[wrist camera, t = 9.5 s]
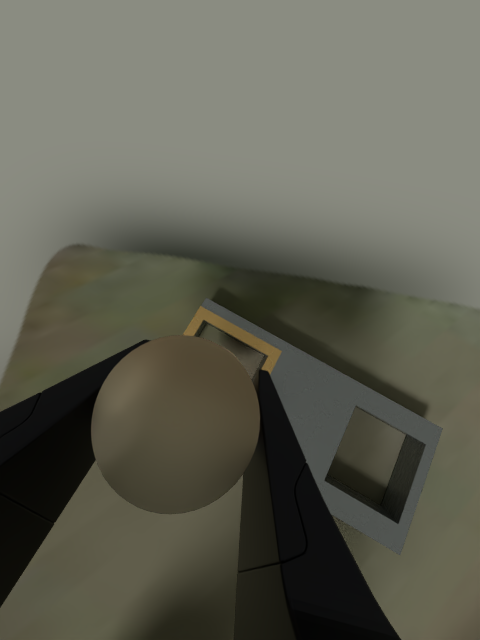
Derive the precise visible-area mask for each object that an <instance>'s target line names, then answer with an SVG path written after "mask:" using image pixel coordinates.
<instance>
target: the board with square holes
mask: <svg viewBox="0 0 480 640" xmlns="http://www.w3.org/2000/svg"><path fill="white" fill-rule="evenodd" d="M206 323H208V324H209V325H211V326H213V327H215V328H216V329H218V330H220V331H222V332H224V333H225V334H227V335H229V336H231V337H233V338H234V339H236V340H238V341H240V342H241V343H243V344H245V345H247V346H249V347H250V348H252V349H254V350H256V351H257V352H259V353H261V354H263V355H265V356H264V358H263V360H262V361H261V363H260V365H259V367H258V369H257V371H256V373H255V375H254V377H253V379H252V383H253V382H254V379H255V377H256V374H257V372H258V370H259V369H262V370H266V371H268V372H269V374H270V376H271V379H272V381H273V383H274V386H275V388H276V390H277V393H278V395H279V397H280V400H281V402H282V404H283V407H284V409H285V411H286V414H287V416H288V418H289V421H290V423H291V425H292V428H293V430H294V433H295V435H296V437H297V440H298V442H299V444H300V447H301V449H302V451H303V454H304V456H305V458H306V463H308V465H309V468H310V470H311V472H312V475H313V477H314V479H315V481H316V484H317V486H318V488H319V490H320V493H321V495H322V497H323V499H324V501H325V503H326V505H327V507H328V509H329V511H330V513H331V514H332V515H333V516H335V517H337V518H338V519H340V520H342V521H343V522H345V523H347V524H349V525H350V526H352V527H354V528H355V529H357V530H359V531H360V532H362V533H364V534H365V535H367V536H369V537H370V538H372V539H374V540H375V541H377V542H379V543H380V544H382V545H384V546H385V547H387V548H389V549H391V550H392V551H394V552H396V553H397V554H399V555H400V554H401V551H402V548H403V545H404V542H405V539H406V536H407V533H408V530H409V527H410V524H411V521H412V518H413V515H414V512H415V509H416V506H417V503H418V500H419V497H420V494H421V491H422V488H423V485H424V483H425V480H426V477H427V474H428V471H429V468H430V465H431V462H432V459H433V456H434V453H435V450H436V447H437V444H438V441H439V438H440V435H441V432H442V429H443V428H441V427H439V426H437V425H435V424H434V423H432V422H430V421H428V420H426V419H425V418H423V417H421V416H419V415H417V414H415V413H414V412H412V411H410V410H408V409H406V408H405V407H403V406H401V405H399V404H397V403H396V402H394V401H392V400H390V399H388V398H387V397H385V396H383V395H381V394H379V393H378V392H376V391H374V390H372V389H370V388H368V387H367V386H365V385H363V384H361V383H359V382H358V381H356V380H354V379H352V378H350V377H349V376H347V375H345V374H343V373H341V372H340V371H338V370H336V369H334V368H332V367H331V366H329V365H327V364H325V363H323V362H321V361H320V360H318V359H316V358H314V357H312V356H311V355H309V354H307V353H305V352H303V351H302V350H300V349H298V348H296V347H294V346H293V345H291V344H289V343H287V342H285V341H284V340H282V339H280V338H278V337H276V336H274V335H273V334H271V333H269V332H267V331H265V330H264V329H262V328H260V327H258V326H256V325H255V324H253V323H251V322H249V321H247V320H246V319H244V318H242V317H240V316H238V315H237V314H235V313H233V312H231V311H229V310H227V309H226V308H224V307H222V306H220V305H218V304H217V303H215V302H213V301H211V300H209V299H208V298H206V299H205V300H204V302H203V304H202V305H201V306H200V308H199V309H198V311H197V312H196V314H195V316H194V317H193V319H192V321H191V322H190V324H189V326H188V327H187V329H186V330H185V332H184V334H183V335H187V336H195V337H198V336H199V335H200V333H201V331H202V330H203V328H204V326H205V325H206ZM355 406H356V407H357V408H359V409H361V410H363V411H365V412H366V413H368V414H370V415H372V416H373V417H375V418H377V419H379V420H381V421H382V422H384V423H386V424H388V425H390V426H391V427H393V428H395V429H397V430H398V431H400V432H402V433H404V434H406V438H405V441H404V443H403V446H402V449H401V452H400V454H399V457H398V460H397V463H396V465H395V468H394V471H393V474H392V476H391V479H390V482H389V485H388V487H387V490H386V493H385V496H384V498H383V501H382V504H381V506H380V505H379V504H377V503H375V502H373V501H372V500H370V499H368V498H367V497H365V496H363V495H361V494H360V493H358V492H356V491H355V490H353V489H351V488H349V487H348V486H346V485H344V484H343V483H341V482H339V481H337V480H336V479H334V478H332V477H331V476H329V475H327V473H328V470H329V468H330V466H331V463H332V461H333V458H334V456H335V454H336V451H337V449H338V447H339V444H340V442H341V439H342V437H343V435H344V432H345V430H346V427H347V425H348V423H349V420H350V418H351V416H352V413H353V411H354V408H355Z"/></svg>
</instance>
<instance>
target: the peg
mask: <svg viewBox="0 0 480 640" xmlns="http://www.w3.org/2000/svg"><path fill="white" fill-rule="evenodd" d="M259 430H260V409H259V403H258V397H257V394H256V391H255V388H254V385H253V383H252V381H251V378H250V376H249V375H248V373H247V371H246V370H245V368H244V367H243V365H242V364H241V363H240V361H239V360H238V359H237V357H236V356H235V355H234V354H233V353H232V352H230V351H229V350H227V349H225V348H224V347H222V346H220V345H218V344H216V343H214V342H212V341H209V340H206V339H204V338H200V337H195V336H187V335H174V336H167V337H161V338H158V339H155V340H152V341H150V342H147V343H145V344H143V345H141V346H139V347H138V348H136V349H134V350H133V351H131V352H130V353H129V354H128V355H126V356H125V357H124V358H123V359H122V360H121V361H120V362H119V363H118V364H117V365H116V366H115V367H114V368H113V370H112V371H111V372H110V374H109V375H108V376H107V378H106V380H105V381H104V383H103V385H102V387H101V389H100V391H99V393H98V396H97V399H96V402H95V405H94V409H93V415H92V422H91V438H92V446H93V451H94V455H95V458H96V461H97V464H98V467H99V469H100V471H101V473H102V475H103V476H104V478H105V479H106V481H107V482H108V483H109V485H110V486H111V487H112V488H113V489H114V490H115V491H116V493H117V494H118V495H120V496H121V497H122V498H124V499H125V500H126V501H128V502H129V503H131V504H133V505H135V506H136V507H139V508H141V509H144V510H147V511H150V512H155V513H160V514H179V513H186V512H190V511H194V510H197V509H200V508H202V507H205V506H207V505H209V504H210V503H212V502H214V501H216V500H217V499H219V498H220V497H221V496H223V495H224V494H225V493H226V492H228V491H229V490H230V489H231V488H232V487H233V486H234V485H235V484H236V482H237V481H238V480H239V478H240V477H241V476H242V475H243V473H244V471H245V470H246V468H247V466H248V465H249V463H250V461H251V458H252V456H253V454H254V451H255V448H256V444H257V441H258V435H259Z"/></svg>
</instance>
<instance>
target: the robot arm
mask: <svg viewBox="0 0 480 640" xmlns="http://www.w3.org/2000/svg"><path fill="white" fill-rule="evenodd" d="M150 341H151V340H143V341H141V342H139V343H137V344H135V345H133V346H131V347H129V348H127V349H125V350H123V351H121V352H119V353H117V354H115V355H113V356H111V357H109V358H107V359H105V360H103V361H101V362H99V363H97V364H95V365H93V366H91V367H89V368H87V369H85V370H83V371H81V372H79V373H77V374H75V375H73V376H71V377H69V378H67V379H66V380H64V381H62V382H60V383H58V384H56V385H54V386H52V387H50V388H48V389H46V390H44V391H42V393H37V394H36V395H34V396H32V397H30V398H28V399H26V400H24V401H21V402H19V403H17V404H15V405H13V406H11V407H9V408H7V409H5V410H3V411H1V412H0V607H1V606H2V604H3V603H4V601H5V600H6V598H7V596H8V595H9V593H10V592H11V590H12V589H13V587H14V586H15V584H16V583H17V581H18V579H19V578H20V576H21V575H22V573H23V572H24V570H25V569H26V567H27V566H28V564H29V562H30V561H31V559H32V558H33V556H34V555H35V553H36V552H37V550H38V549H39V547H40V545H41V544H42V542H43V541H44V539H45V538H46V536H47V535H48V533H49V532H50V530H51V528H52V527H53V525H54V523H55V522H56V520H57V519H58V517H59V516H60V514H61V513H62V511H63V510H64V508H65V507H66V505H67V503H68V502H69V500H70V499H71V497H72V496H73V494H74V493H75V491H76V490H77V488H78V486H79V485H80V483H81V482H82V480H83V479H84V477H85V476H86V474H87V473H88V471H89V469H90V468H91V466H92V465H93V463H94V462H95V460H96V458H95V455H94V451H93V446H92V438H91V422H92V415H93V409H94V405H95V402H96V399H97V396H98V393H99V391H100V389H101V387H102V385H103V383H104V381H105V380H106V378H107V376H108V375H109V374H110V372H111V371H112V370H113V368H114V367H115V366H116V365H117V364H118V363H119V362H120V361H121V360H122V359H123V358H124V357H125V356H126V355H128V354H129V353H130V352H131V351H133V350H134V349H136V348H138V347H139V346H141V345H143V344H145V343H147V342H150ZM253 385H254V388H255V391H256V394H257V397H258V403H259V409H260V430H259V435H258V441H257V444H256V448H255V451H254V454H253V456H252V458H251V461H250V463H249V465H248V466H247V468H246V470H245V471H244V473H243V489H242V506H241V523H240V540H239V557H238V574H237V590H236V607H235V624H234V640H401V639H400V637H399V636H398V634H397V633H396V631H395V630H394V628H393V627H392V625H391V624H390V622H389V621H388V619H387V618H386V616H385V614H384V613H383V611H382V610H381V608H380V606H379V604H378V603H377V601H376V599H375V598H374V596H373V594H372V592H371V590H370V588H369V586H368V585H367V583H366V581H365V579H364V577H363V575H362V573H361V571H360V569H359V567H358V565H357V563H356V561H355V560H354V558H353V556H352V554H351V552H350V550H349V548H348V546H347V544H346V542H345V540H344V538H343V536H342V535H341V533H340V531H339V529H338V527H337V525H336V523H335V521H334V519H333V517H332V515H331V513H330V511H329V509H328V507H327V505H326V503H325V501H324V499H323V497H322V495H321V493H320V490H319V488H318V486H317V484H316V481H315V479H314V477H313V475H312V472H311V470H310V468H309V465H308V463H306V458H305V456H304V454H303V451H302V449H301V447H300V444H299V442H298V440H297V437H296V435H295V433H294V430H293V428H292V425H291V423H290V421H289V418H288V416H287V414H286V411H285V409H284V407H283V404H282V402H281V400H280V397H279V395H278V393H277V390H276V388H275V386H274V383H273V381H272V379H271V376H270V374H269V372H268V371H266V370H262V369H259V370H258V372H257V374H256V377H255V379H254V382H253Z"/></svg>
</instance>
